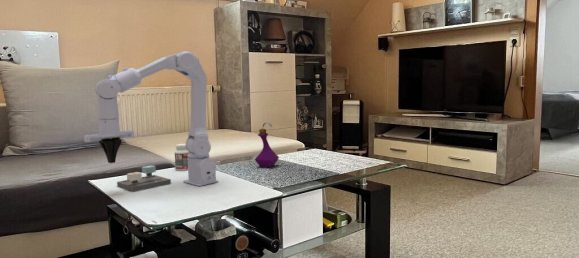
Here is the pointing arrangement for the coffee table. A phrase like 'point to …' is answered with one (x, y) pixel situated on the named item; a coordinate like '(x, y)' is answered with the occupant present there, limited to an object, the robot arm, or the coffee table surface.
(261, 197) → the coffee table surface
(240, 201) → the coffee table surface
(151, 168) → the teal fader
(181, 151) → the pill bottle
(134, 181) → the cream fader
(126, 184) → the mixer panel
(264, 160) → the perfume bottle
